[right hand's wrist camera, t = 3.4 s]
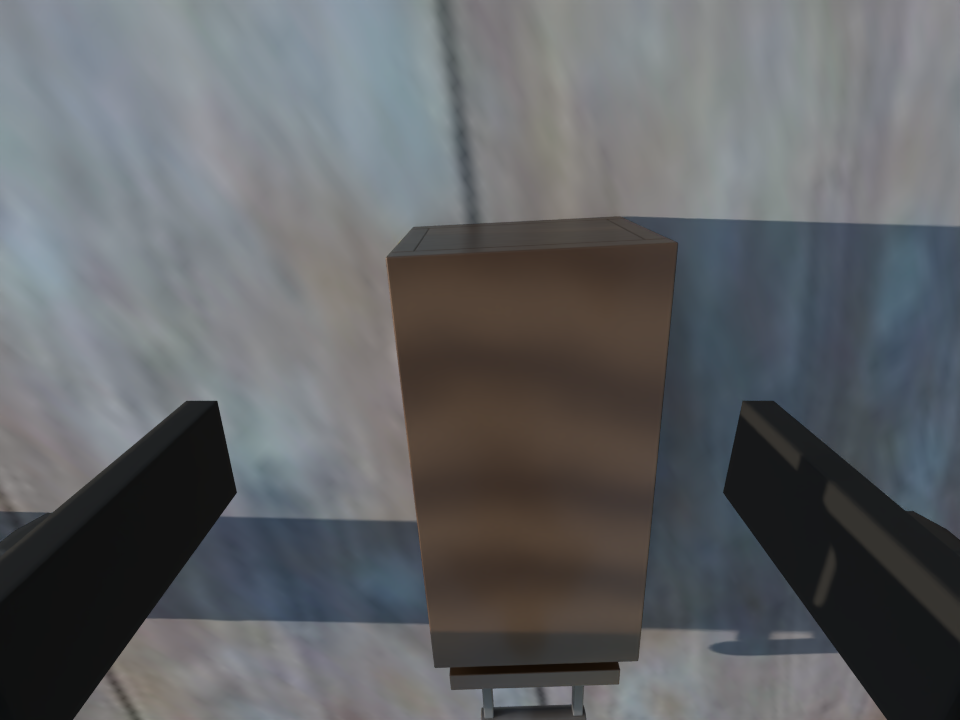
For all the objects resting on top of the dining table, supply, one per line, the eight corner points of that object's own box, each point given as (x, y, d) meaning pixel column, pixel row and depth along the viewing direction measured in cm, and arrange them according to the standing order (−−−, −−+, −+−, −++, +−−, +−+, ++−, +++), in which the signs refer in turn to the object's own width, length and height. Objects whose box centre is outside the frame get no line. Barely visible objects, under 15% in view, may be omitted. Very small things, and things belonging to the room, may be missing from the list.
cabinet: (603, 548, 34) (638, 661, 27) (444, 554, 34) (434, 668, 27) (621, 216, 26) (679, 242, 18) (412, 226, 26) (385, 257, 19)
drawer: (593, 658, 37) (613, 753, 31) (461, 663, 37) (458, 758, 31) (609, 304, 27) (645, 345, 21) (430, 312, 27) (416, 356, 21)
